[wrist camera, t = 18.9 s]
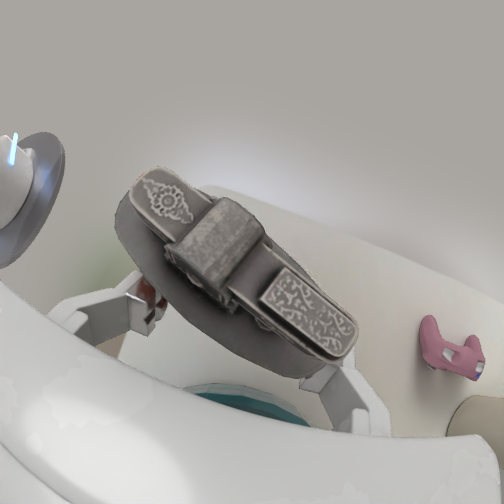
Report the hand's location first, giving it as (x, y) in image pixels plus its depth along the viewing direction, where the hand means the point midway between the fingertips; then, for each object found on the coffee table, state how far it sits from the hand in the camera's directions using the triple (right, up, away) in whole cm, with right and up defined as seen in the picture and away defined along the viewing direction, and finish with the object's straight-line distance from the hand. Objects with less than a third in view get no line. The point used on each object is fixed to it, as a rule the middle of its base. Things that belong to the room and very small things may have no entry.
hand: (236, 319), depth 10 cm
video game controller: (+23, -9, +14) cm, 28 cm away
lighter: (-1, 0, +5) cm, 5 cm away
